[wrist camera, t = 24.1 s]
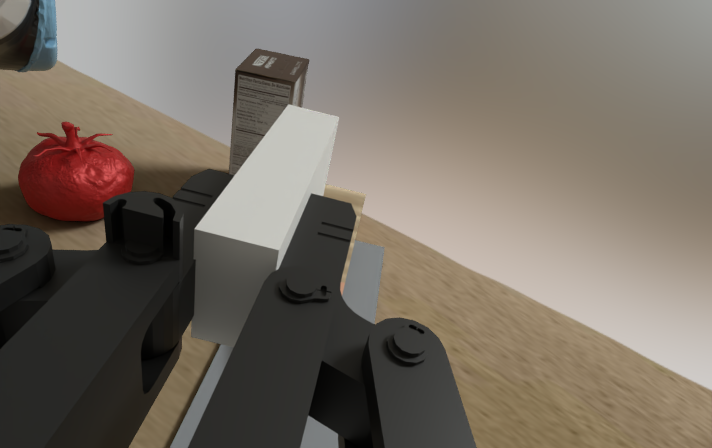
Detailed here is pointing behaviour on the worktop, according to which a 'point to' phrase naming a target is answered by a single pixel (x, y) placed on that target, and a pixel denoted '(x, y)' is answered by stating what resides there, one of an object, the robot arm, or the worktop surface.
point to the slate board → (357, 294)
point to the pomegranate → (73, 176)
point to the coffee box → (262, 98)
